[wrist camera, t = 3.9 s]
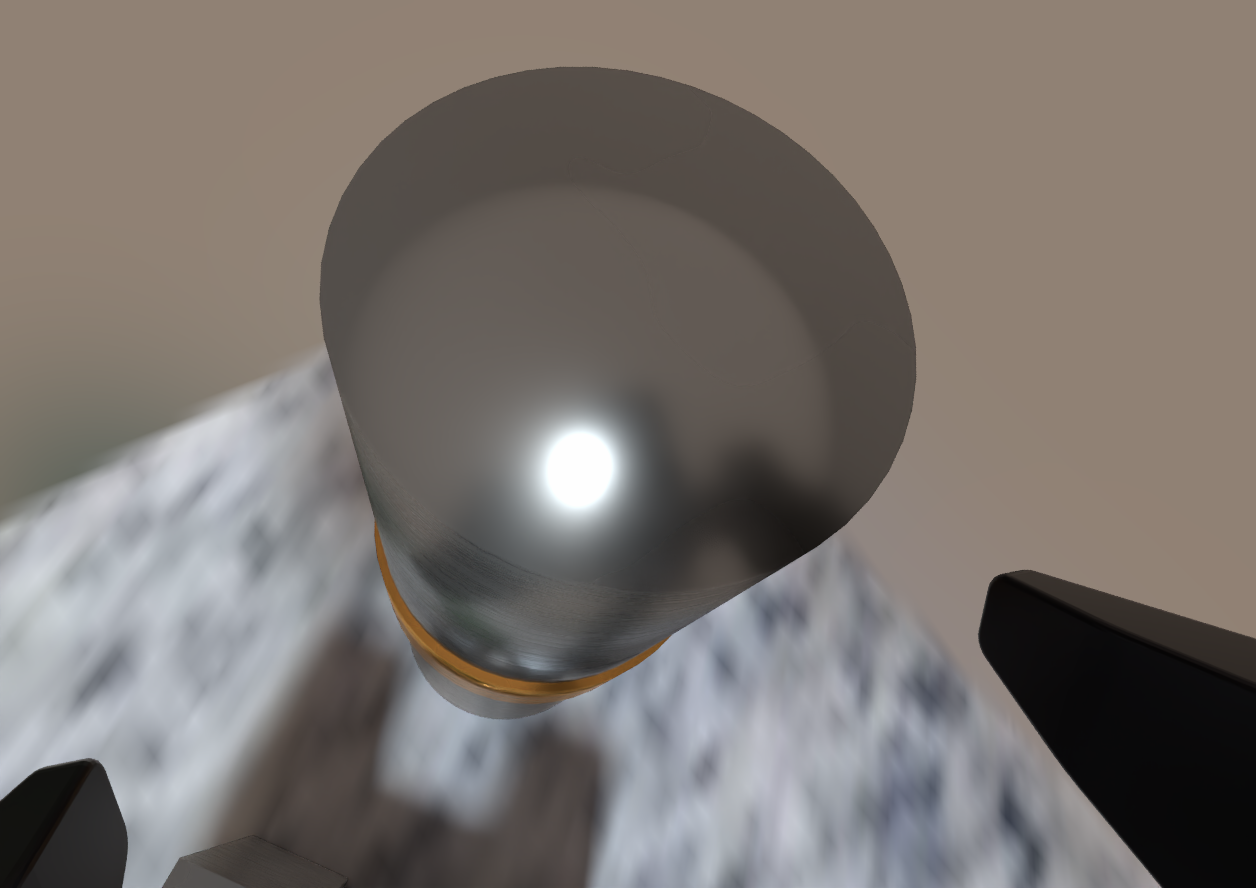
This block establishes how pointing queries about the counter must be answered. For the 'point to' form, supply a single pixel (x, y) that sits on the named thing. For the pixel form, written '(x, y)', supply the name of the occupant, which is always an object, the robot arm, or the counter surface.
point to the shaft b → (250, 868)
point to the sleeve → (601, 370)
